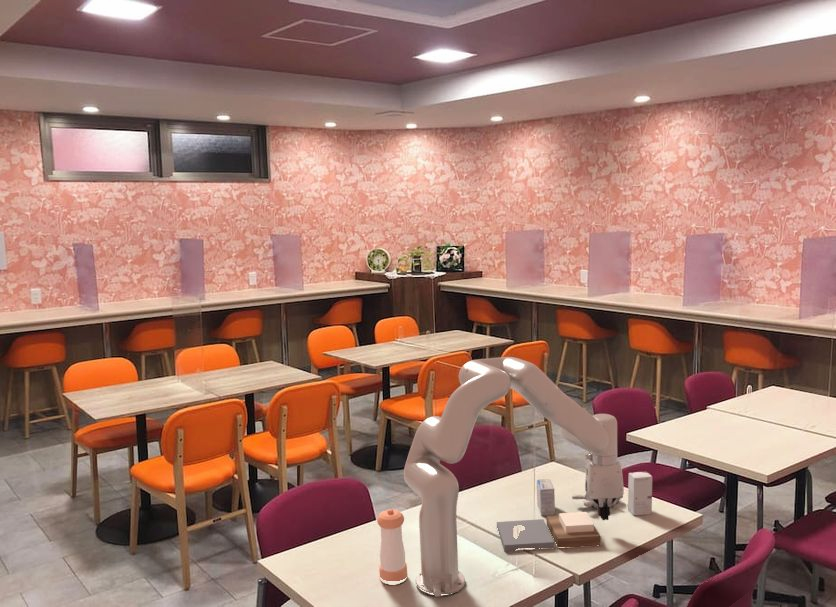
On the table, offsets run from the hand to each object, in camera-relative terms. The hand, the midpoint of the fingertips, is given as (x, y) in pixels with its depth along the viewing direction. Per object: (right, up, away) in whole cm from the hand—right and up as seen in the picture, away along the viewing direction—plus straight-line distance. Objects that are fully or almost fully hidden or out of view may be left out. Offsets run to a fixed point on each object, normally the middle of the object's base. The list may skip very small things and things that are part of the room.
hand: (604, 518), depth 206 cm
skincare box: (+14, -2, +13) cm, 20 cm away
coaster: (-8, -2, 0) cm, 8 cm away
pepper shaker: (-60, -10, -18) cm, 64 cm away
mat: (-23, -6, 0) cm, 24 cm away
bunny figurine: (+3, -2, +19) cm, 19 cm away
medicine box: (-14, -3, +17) cm, 22 cm away
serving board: (-9, -5, 0) cm, 10 cm away
